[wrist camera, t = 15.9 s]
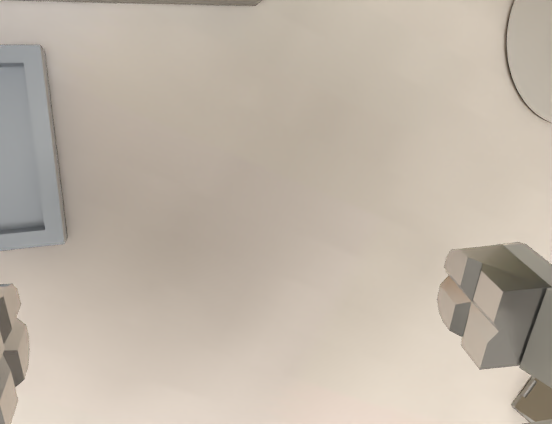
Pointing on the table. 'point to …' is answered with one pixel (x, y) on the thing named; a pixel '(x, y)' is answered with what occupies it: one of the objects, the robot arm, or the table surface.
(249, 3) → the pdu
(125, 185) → the table surface
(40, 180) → the tray
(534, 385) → the laptop
